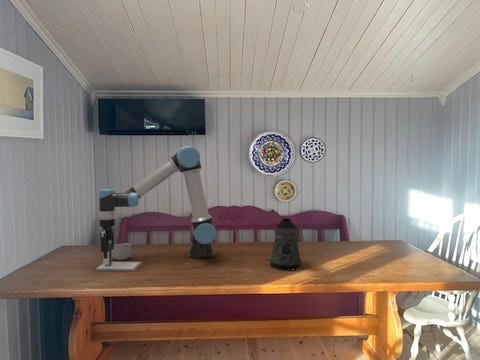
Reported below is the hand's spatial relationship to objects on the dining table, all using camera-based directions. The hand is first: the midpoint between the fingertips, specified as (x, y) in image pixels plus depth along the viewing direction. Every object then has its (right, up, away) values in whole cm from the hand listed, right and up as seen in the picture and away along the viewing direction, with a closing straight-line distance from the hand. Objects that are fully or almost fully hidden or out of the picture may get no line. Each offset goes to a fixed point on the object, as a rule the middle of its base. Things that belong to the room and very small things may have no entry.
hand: (107, 263), depth 183 cm
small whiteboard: (+6, -2, 0) cm, 6 cm away
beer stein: (+93, -2, +4) cm, 93 cm away
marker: (0, -1, 0) cm, 1 cm away
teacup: (+2, -2, +17) cm, 17 cm away
